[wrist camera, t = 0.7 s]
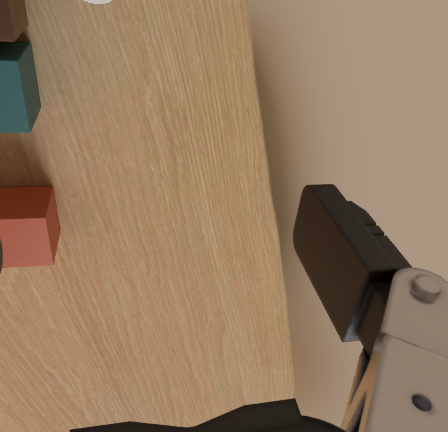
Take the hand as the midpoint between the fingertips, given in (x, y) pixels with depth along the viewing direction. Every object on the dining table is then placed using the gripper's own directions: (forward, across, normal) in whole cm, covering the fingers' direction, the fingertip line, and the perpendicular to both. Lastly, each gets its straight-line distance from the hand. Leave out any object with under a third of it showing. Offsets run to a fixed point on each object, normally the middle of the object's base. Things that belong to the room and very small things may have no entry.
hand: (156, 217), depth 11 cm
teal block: (+22, +9, +3) cm, 24 cm away
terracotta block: (+22, +9, +14) cm, 28 cm away
